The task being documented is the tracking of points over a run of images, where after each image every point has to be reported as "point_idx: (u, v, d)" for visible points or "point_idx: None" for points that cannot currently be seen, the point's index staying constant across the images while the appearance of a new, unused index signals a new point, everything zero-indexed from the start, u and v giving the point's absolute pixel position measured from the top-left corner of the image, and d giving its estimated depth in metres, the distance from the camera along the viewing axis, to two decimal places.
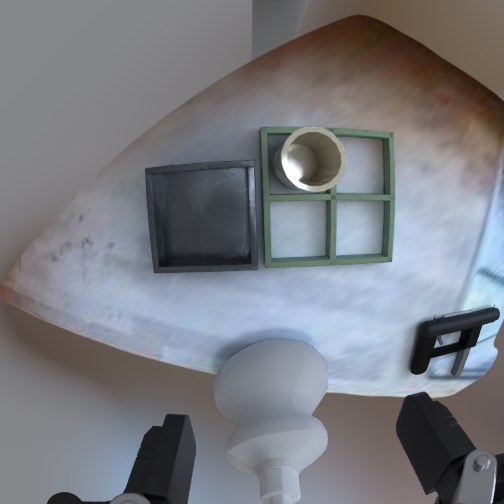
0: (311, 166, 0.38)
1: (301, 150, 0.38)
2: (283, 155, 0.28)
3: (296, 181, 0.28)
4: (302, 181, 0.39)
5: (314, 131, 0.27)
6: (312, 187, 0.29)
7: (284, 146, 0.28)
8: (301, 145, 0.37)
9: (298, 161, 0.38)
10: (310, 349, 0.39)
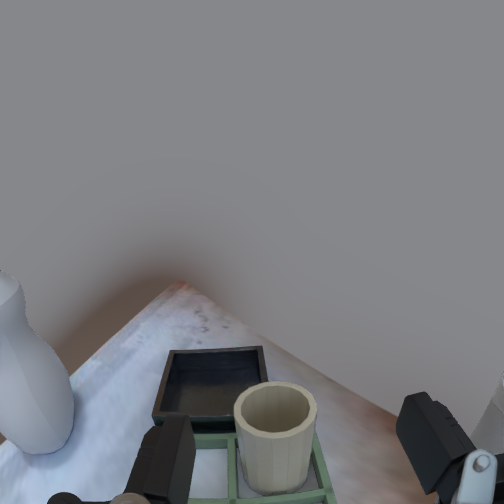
0: None
1: None
2: (274, 382, 0.24)
3: (245, 394, 0.23)
4: None
5: (310, 403, 0.21)
6: (239, 407, 0.22)
7: (285, 382, 0.24)
8: None
9: None
10: (44, 432, 0.21)
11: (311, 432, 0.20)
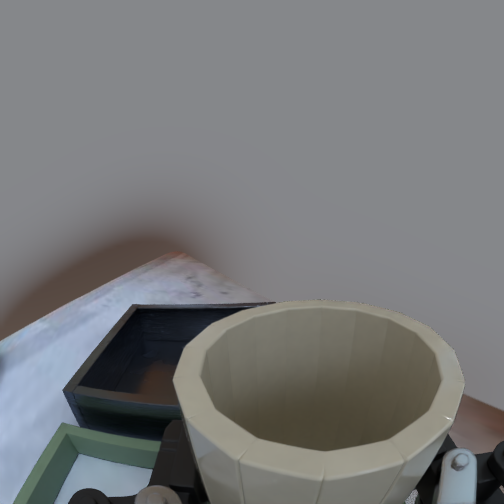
0: None
1: None
2: (313, 302, 0.09)
3: (229, 323, 0.08)
4: None
5: (429, 344, 0.06)
6: (199, 355, 0.07)
7: (341, 302, 0.09)
8: None
9: None
10: None
11: None
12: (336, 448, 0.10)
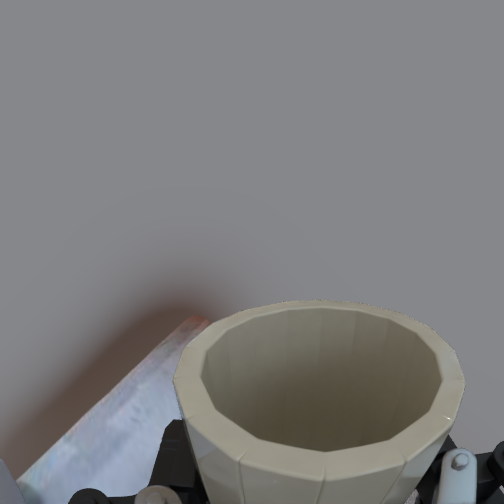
0: None
1: None
2: (313, 302, 0.09)
3: (229, 323, 0.08)
4: None
5: (429, 344, 0.06)
6: (199, 355, 0.07)
7: (341, 302, 0.09)
8: None
9: None
10: None
11: None
12: (336, 448, 0.10)
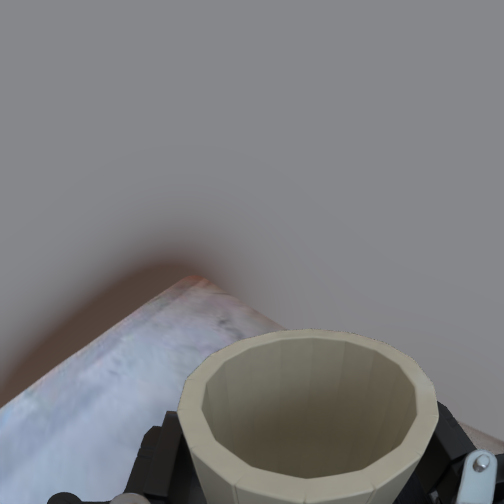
0: None
1: None
2: (305, 332, 0.10)
3: (226, 354, 0.09)
4: None
5: (410, 377, 0.07)
6: (199, 387, 0.07)
7: (331, 331, 0.10)
8: None
9: None
10: None
11: None
12: (327, 460, 0.10)
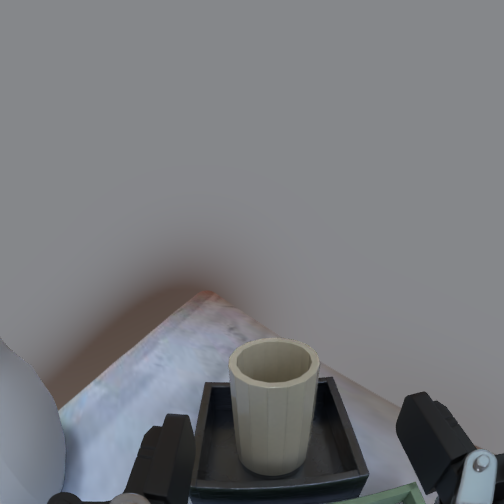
0: None
1: None
2: (275, 339, 0.24)
3: (243, 347, 0.23)
4: None
5: (312, 358, 0.21)
6: (235, 358, 0.21)
7: (286, 339, 0.24)
8: None
9: None
10: (18, 500, 0.09)
11: (312, 390, 0.19)
12: None
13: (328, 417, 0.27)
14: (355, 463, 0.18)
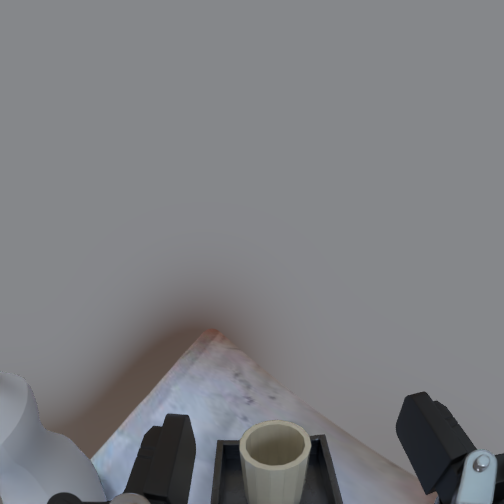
0: None
1: None
2: (276, 421, 0.26)
3: (250, 430, 0.25)
4: None
5: (305, 442, 0.23)
6: (244, 442, 0.24)
7: (285, 421, 0.26)
8: None
9: None
10: None
11: (304, 465, 0.22)
12: (288, 461, 0.27)
13: (320, 466, 0.30)
14: None
